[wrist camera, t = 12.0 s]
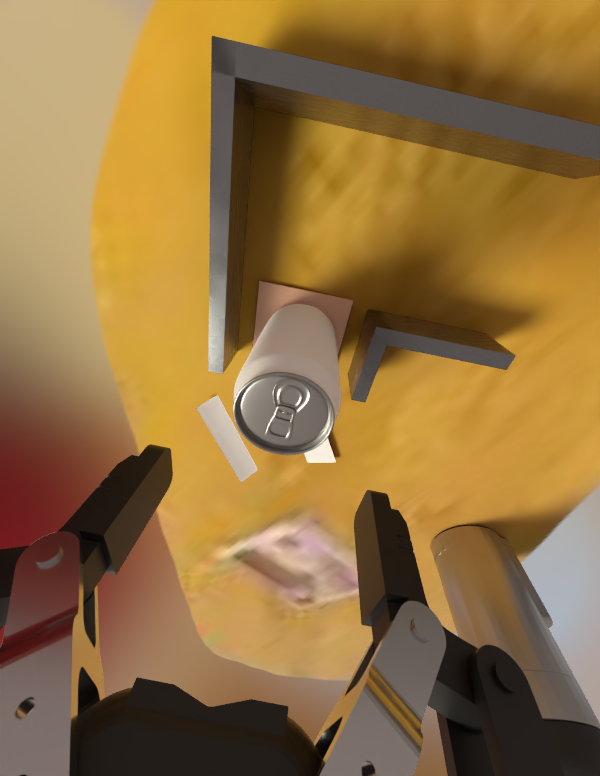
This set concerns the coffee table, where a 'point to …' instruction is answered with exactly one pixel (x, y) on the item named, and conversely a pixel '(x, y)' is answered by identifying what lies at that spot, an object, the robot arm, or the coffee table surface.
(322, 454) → the white strips
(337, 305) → the pad
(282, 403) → the can
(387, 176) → the coffee table surface
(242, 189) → the guide rails
